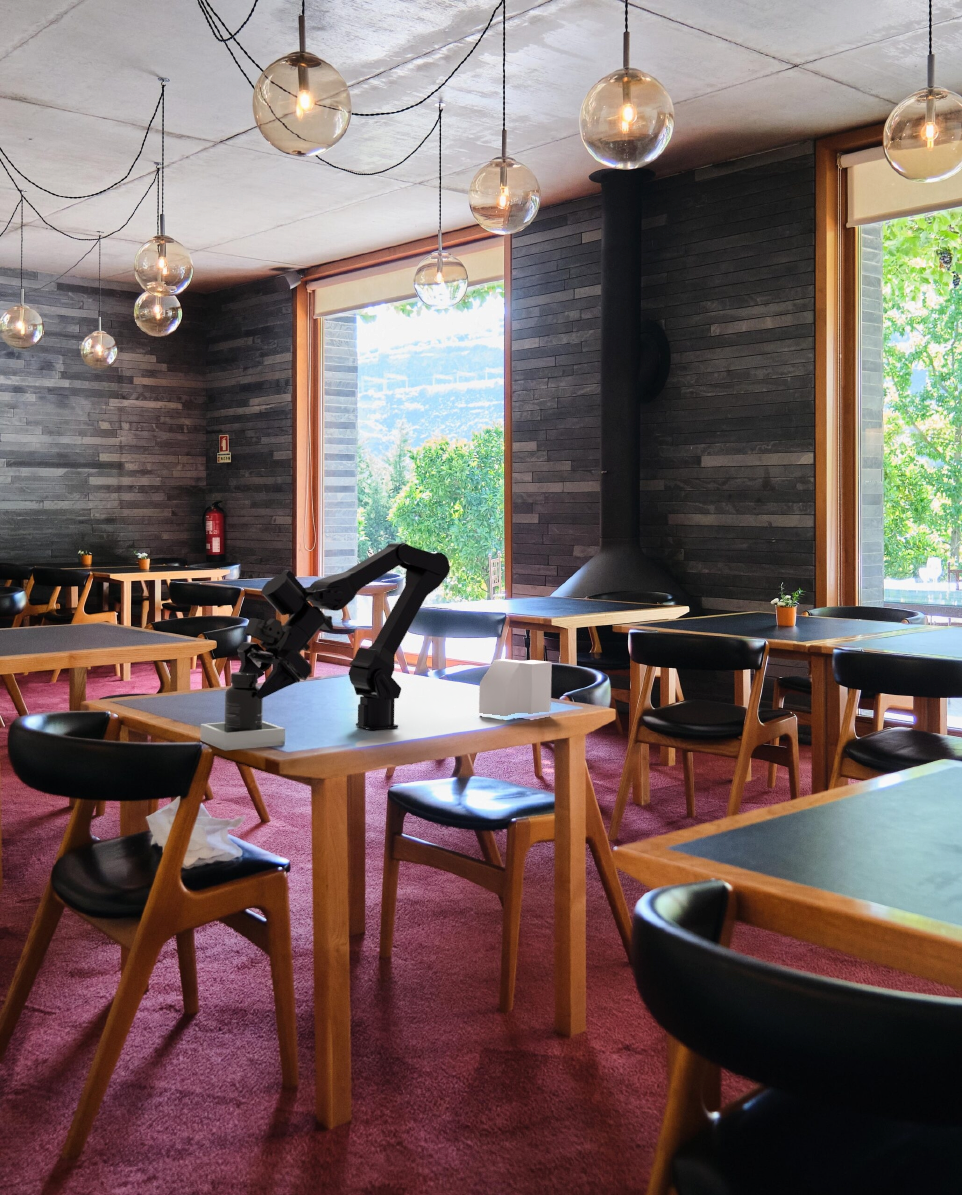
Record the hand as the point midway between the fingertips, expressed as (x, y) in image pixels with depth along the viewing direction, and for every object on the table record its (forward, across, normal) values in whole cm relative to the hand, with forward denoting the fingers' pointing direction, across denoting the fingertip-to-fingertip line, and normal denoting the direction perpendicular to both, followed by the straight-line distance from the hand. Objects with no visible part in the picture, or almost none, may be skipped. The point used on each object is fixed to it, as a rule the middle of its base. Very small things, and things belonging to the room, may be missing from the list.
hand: (245, 694), depth 209 cm
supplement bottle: (+6, 0, +6) cm, 8 cm away
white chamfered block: (-37, +6, +51) cm, 63 cm away
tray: (+7, 0, +6) cm, 9 cm away
